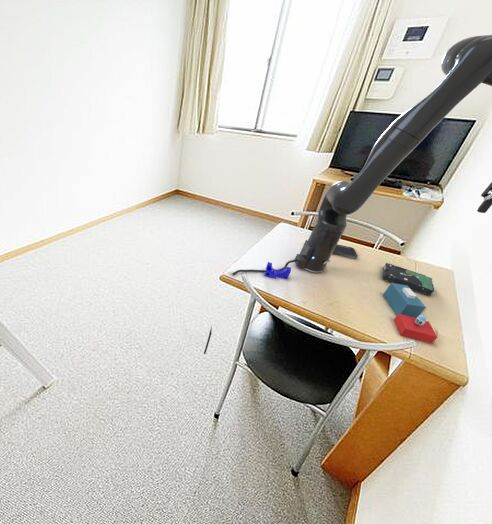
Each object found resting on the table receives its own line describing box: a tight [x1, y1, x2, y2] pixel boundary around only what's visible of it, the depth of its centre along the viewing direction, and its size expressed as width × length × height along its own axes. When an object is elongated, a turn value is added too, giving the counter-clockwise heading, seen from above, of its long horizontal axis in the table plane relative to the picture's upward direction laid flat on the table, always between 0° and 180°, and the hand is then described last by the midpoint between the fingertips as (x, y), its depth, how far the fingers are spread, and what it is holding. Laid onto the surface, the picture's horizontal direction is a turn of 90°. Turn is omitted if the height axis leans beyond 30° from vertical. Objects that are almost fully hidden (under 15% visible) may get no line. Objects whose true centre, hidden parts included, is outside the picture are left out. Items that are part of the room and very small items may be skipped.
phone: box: [332, 243, 358, 260], centre depth 129 cm, size 8×1×15 cm
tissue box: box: [382, 282, 427, 318], centre depth 99 cm, size 5×11×7 cm, turn 169°
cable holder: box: [263, 261, 292, 280], centre depth 109 cm, size 8×4×4 cm, turn 70°
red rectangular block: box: [393, 314, 438, 344], centre depth 90 cm, size 8×7×6 cm
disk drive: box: [381, 262, 435, 296], centre depth 113 cm, size 10×3×15 cm
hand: (490, 217), depth 96 cm, fingers open, 8 cm apart
